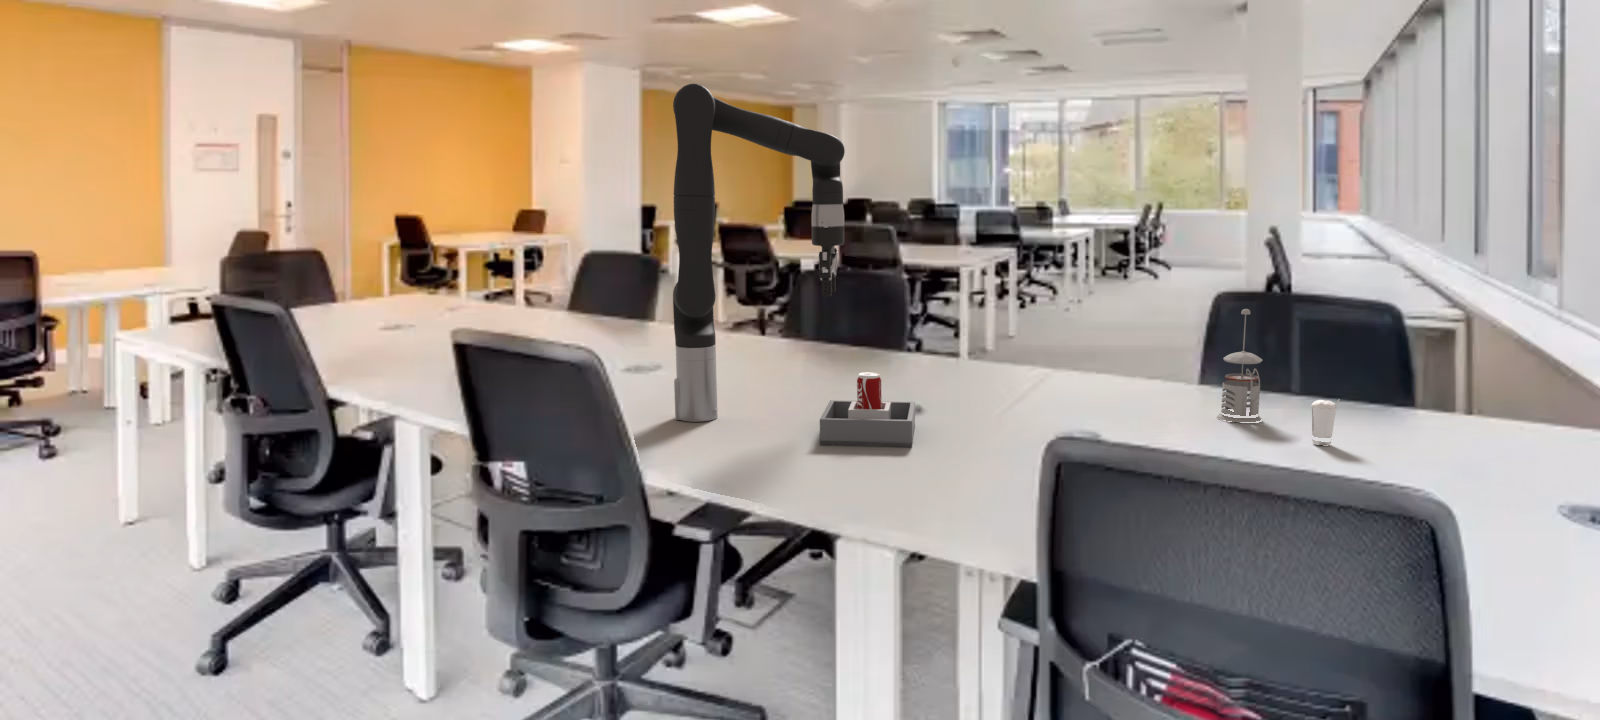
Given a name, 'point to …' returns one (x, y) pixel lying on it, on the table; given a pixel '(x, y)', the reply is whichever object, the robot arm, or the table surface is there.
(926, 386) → the table surface
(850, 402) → the box
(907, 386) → the table surface
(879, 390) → the soda can
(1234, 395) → the french press
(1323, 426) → the milkshake
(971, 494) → the table surface
